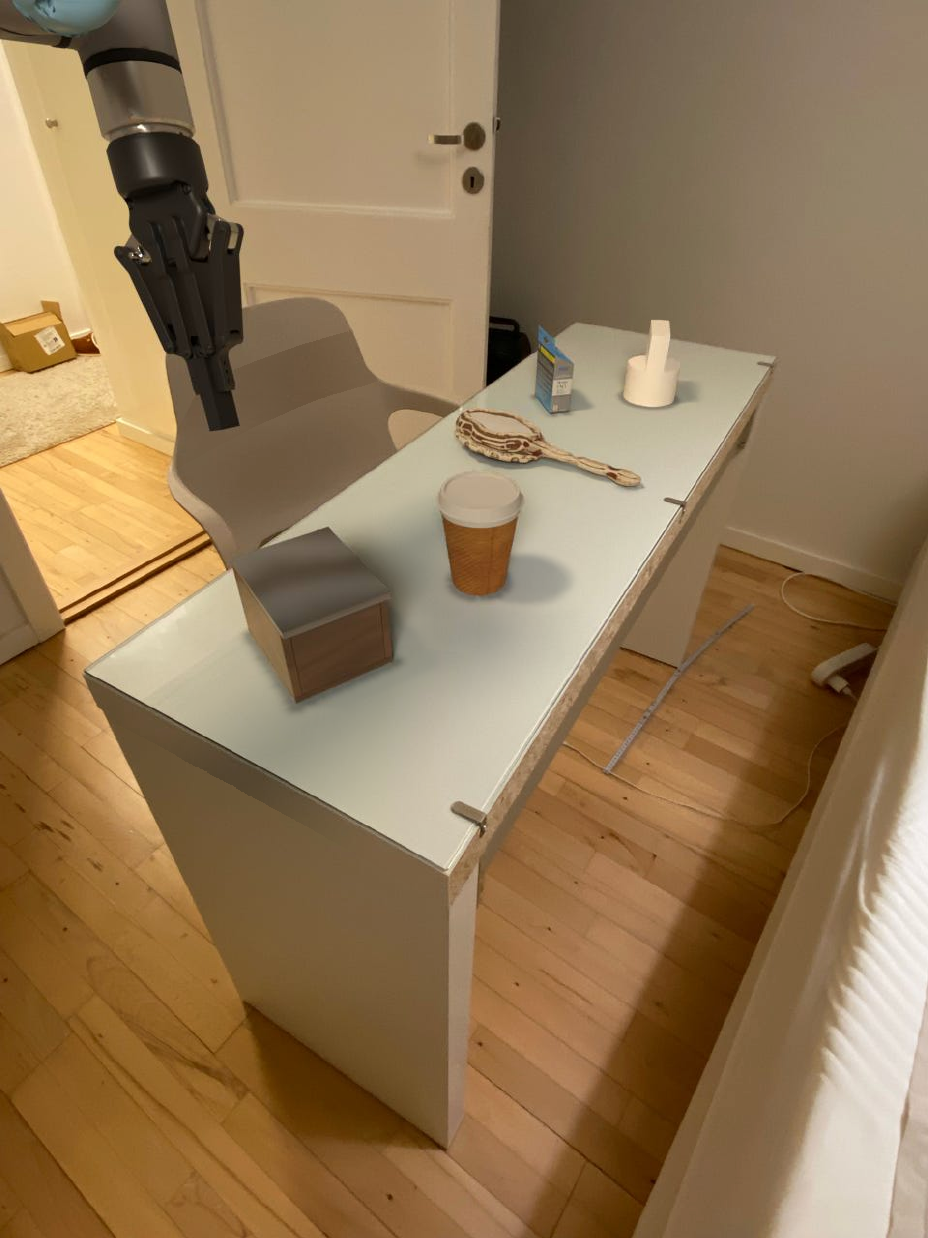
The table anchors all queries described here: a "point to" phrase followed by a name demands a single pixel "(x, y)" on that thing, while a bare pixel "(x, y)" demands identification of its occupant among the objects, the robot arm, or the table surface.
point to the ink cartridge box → (553, 375)
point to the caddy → (321, 647)
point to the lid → (308, 581)
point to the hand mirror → (522, 442)
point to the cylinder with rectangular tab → (653, 371)
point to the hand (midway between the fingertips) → (224, 428)
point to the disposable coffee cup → (479, 528)
